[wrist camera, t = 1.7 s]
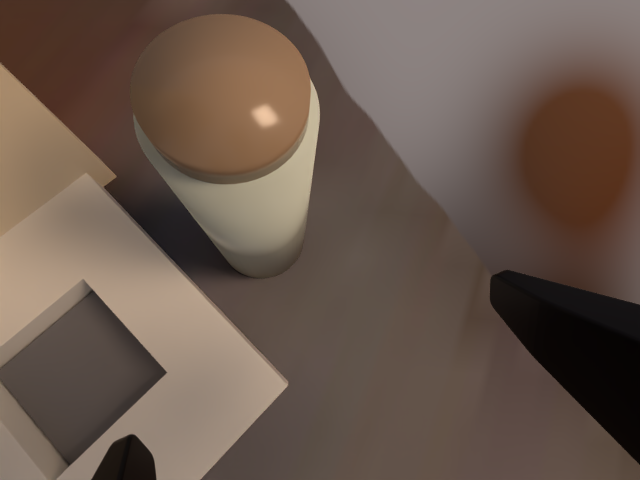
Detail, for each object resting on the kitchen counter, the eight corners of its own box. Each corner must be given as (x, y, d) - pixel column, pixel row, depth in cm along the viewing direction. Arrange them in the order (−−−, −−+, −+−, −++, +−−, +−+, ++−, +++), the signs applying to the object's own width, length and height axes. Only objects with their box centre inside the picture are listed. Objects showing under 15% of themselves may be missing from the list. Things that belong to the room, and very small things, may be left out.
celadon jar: (318, 223, 23) (357, 60, 10) (276, 293, 22) (254, 216, 8) (249, 185, 24) (195, -25, 10) (203, 251, 22) (72, 113, 9)
